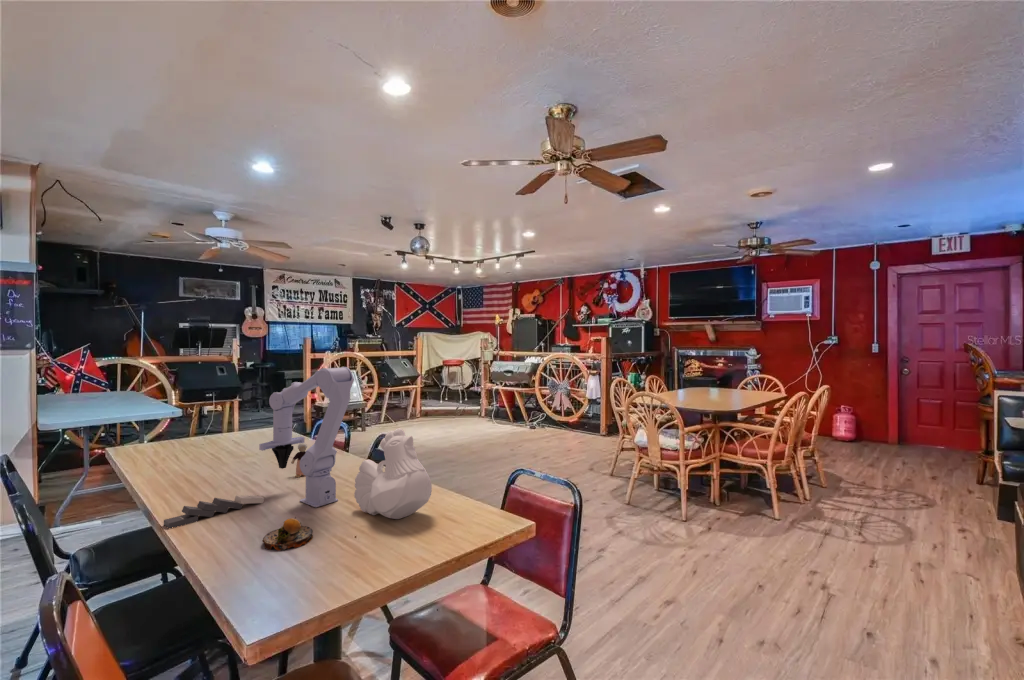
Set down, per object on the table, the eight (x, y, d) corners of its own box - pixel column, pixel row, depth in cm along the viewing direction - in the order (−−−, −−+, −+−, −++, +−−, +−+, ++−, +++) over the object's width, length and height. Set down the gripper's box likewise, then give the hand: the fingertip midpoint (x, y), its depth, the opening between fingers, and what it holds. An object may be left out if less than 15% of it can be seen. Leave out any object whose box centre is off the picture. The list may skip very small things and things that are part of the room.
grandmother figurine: (295, 479, 173) (295, 444, 173) (290, 477, 176) (290, 443, 176) (314, 474, 179) (314, 441, 179) (309, 472, 182) (309, 440, 182)
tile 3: (214, 511, 137) (189, 508, 131) (212, 517, 136) (187, 514, 131) (208, 508, 139) (183, 505, 134) (206, 514, 139) (181, 511, 133)
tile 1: (243, 503, 143) (220, 500, 138) (240, 509, 142) (218, 505, 137) (236, 501, 145) (214, 497, 140) (234, 506, 145) (212, 503, 140)
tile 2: (228, 507, 140) (205, 503, 135) (226, 513, 139) (202, 509, 134) (222, 504, 142) (199, 500, 137) (220, 510, 142) (196, 506, 136)
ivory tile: (264, 497, 148) (242, 498, 143) (262, 503, 148) (240, 503, 142) (257, 495, 150) (235, 495, 145) (256, 500, 150) (234, 501, 144)
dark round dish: (300, 528, 129) (300, 501, 129) (321, 540, 122) (321, 511, 122) (254, 542, 120) (254, 513, 120) (274, 556, 112) (274, 525, 112)
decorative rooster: (448, 496, 136) (423, 422, 148) (405, 500, 123) (382, 419, 136) (397, 532, 146) (378, 460, 158) (353, 540, 134) (336, 461, 146)
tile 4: (198, 515, 133) (169, 523, 127) (198, 521, 133) (169, 529, 127) (192, 512, 135) (163, 519, 130) (192, 518, 135) (163, 525, 130)
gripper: (296, 423, 165) (296, 461, 165) (254, 429, 154) (254, 470, 154) (307, 425, 161) (307, 464, 161) (265, 432, 149) (265, 474, 149)
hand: (282, 467), depth 157 cm, fingers closed
